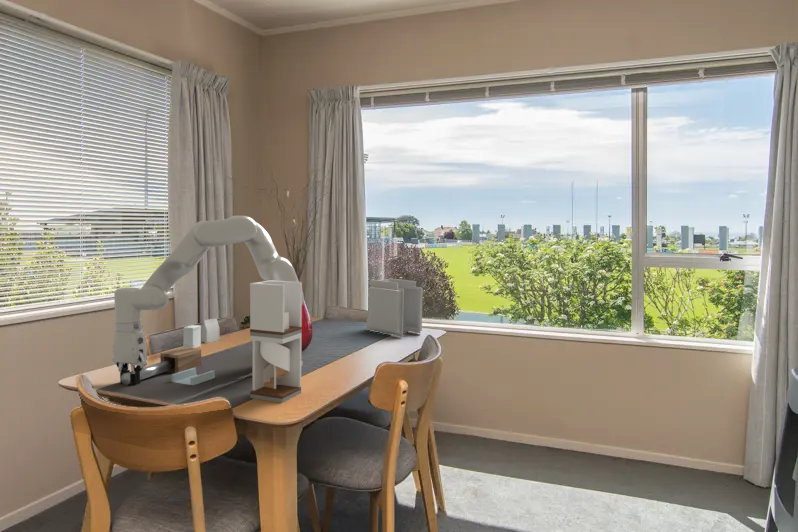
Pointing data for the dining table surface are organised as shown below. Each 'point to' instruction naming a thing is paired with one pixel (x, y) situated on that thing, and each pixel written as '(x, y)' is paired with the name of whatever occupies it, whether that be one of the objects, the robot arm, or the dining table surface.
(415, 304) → the grey file holder
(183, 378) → the cradle
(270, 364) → the spiral staircase model
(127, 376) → the axle
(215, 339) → the light grey block
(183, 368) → the hollow wooden box
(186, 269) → the robot arm
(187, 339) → the skincare box
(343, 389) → the dining table surface
